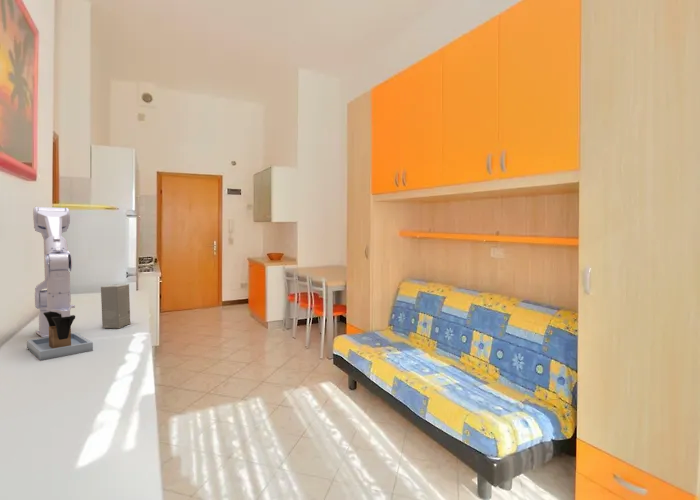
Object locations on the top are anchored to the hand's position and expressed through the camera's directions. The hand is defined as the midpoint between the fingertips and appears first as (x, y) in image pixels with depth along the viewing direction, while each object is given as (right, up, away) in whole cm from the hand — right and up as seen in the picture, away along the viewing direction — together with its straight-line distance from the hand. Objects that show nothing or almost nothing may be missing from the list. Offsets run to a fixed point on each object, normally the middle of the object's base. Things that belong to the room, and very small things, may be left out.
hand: (59, 336), depth 123 cm
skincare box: (0, -3, +30) cm, 30 cm away
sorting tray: (0, -4, 0) cm, 4 cm away
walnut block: (0, -3, 0) cm, 3 cm away
